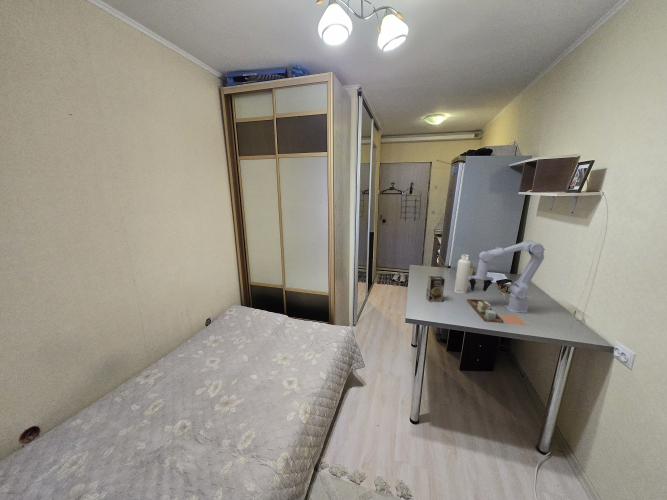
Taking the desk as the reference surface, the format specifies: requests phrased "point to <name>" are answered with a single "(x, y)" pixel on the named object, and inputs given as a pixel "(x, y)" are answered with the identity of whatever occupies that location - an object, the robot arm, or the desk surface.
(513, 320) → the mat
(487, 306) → the letter cube
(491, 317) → the blank block
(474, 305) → the organizer
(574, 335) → the desk surface
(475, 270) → the ceramic cottage
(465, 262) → the bottle
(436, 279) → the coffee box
